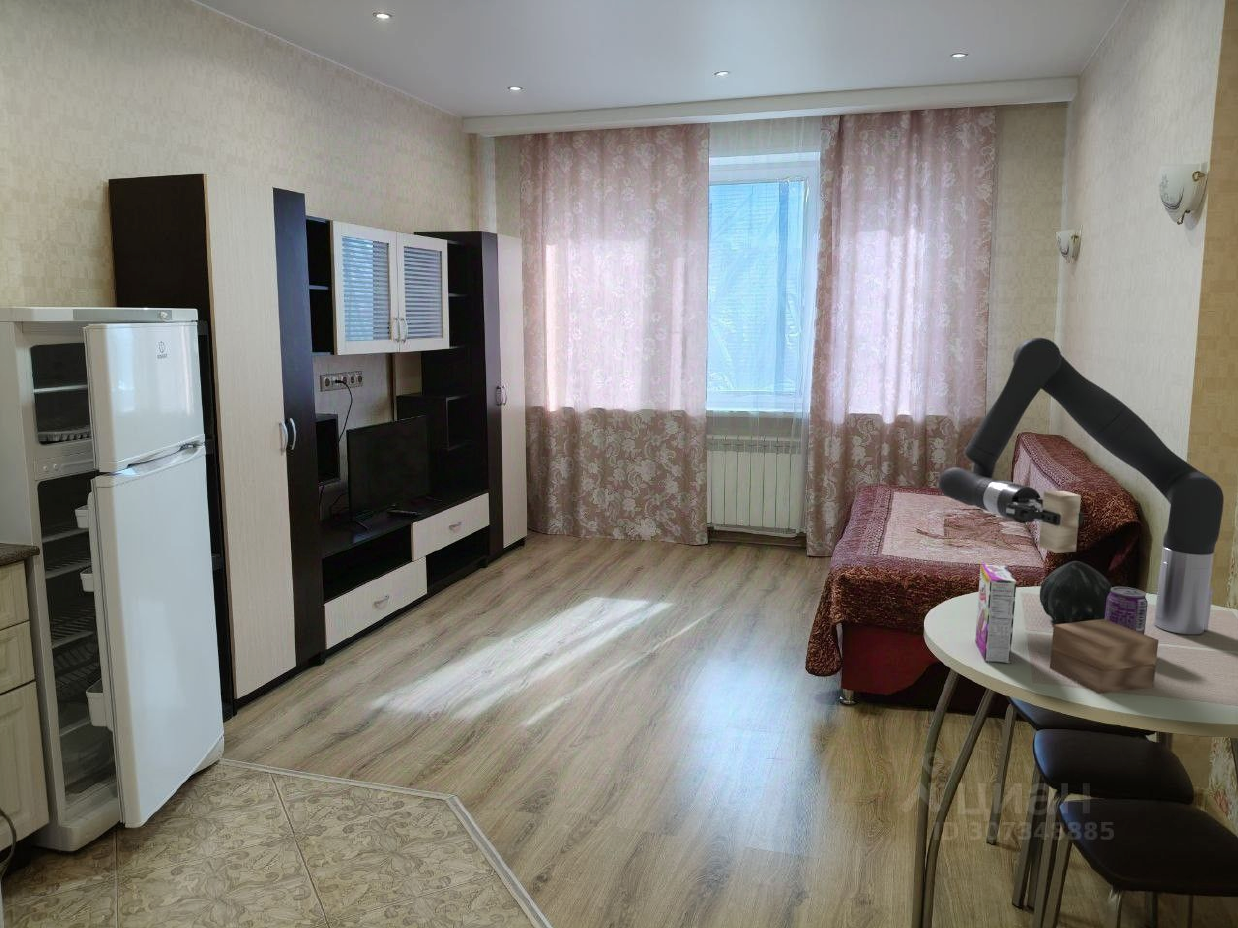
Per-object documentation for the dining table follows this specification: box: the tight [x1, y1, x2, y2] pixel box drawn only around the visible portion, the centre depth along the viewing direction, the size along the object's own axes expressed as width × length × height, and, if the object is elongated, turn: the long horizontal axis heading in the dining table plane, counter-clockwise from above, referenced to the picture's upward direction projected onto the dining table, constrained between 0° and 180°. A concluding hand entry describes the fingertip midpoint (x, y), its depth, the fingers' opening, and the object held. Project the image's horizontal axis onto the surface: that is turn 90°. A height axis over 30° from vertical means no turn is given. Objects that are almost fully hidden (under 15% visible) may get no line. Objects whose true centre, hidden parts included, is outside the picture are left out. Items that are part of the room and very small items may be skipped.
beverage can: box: [1105, 586, 1149, 635], centre depth 184 cm, size 7×7×12 cm
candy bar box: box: [974, 563, 1017, 664], centre depth 181 cm, size 11×5×16 cm, turn 168°
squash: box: [1039, 560, 1112, 625], centre depth 199 cm, size 14×15×15 cm
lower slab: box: [1049, 647, 1157, 695], centre depth 170 cm, size 12×12×4 cm
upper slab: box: [1051, 619, 1159, 672], centre depth 170 cm, size 12×12×4 cm
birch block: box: [1038, 490, 1082, 554], centre depth 180 cm, size 5×5×11 cm
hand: (1070, 519), depth 177 cm, fingers closed on birch block, 4 cm apart
